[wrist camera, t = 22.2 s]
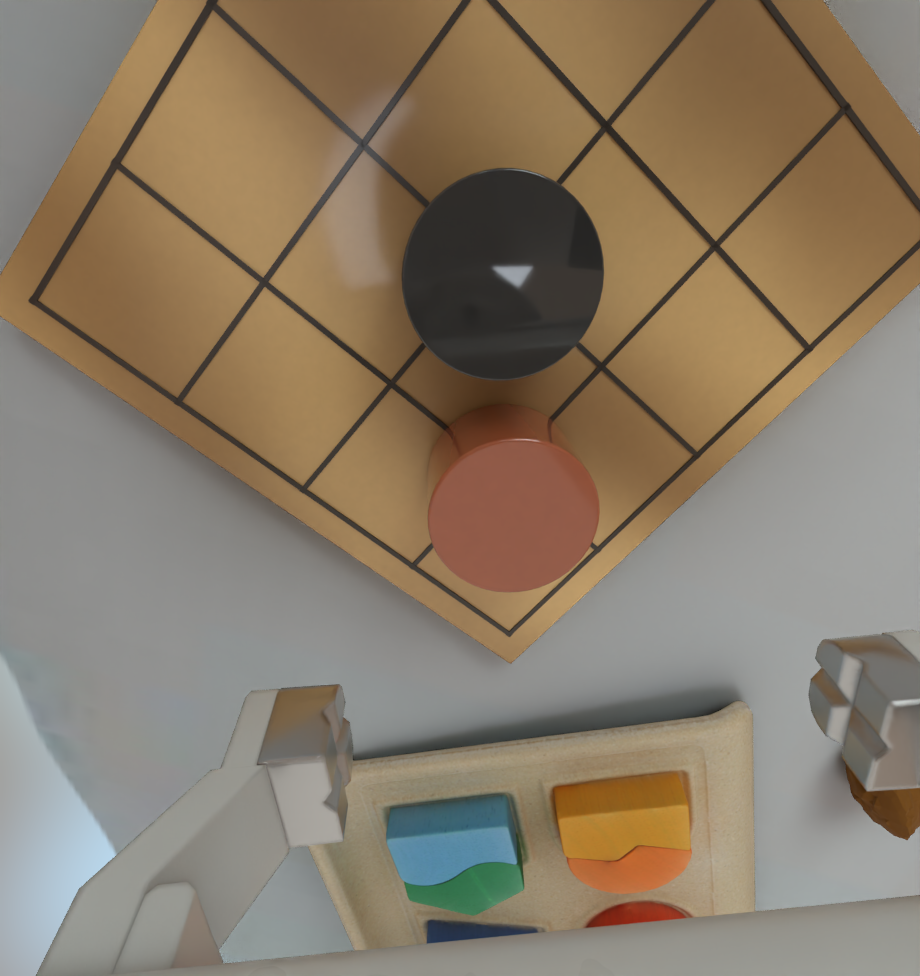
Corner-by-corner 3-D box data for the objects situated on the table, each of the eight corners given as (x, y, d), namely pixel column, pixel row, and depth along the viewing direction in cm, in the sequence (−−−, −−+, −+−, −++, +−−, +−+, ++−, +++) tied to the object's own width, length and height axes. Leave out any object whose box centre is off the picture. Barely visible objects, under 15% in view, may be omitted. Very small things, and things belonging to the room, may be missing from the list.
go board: (450, -460, 13) (453, -523, 12) (952, 222, 19) (986, 224, 18) (7, 298, 19) (-20, 305, 18) (506, 644, 25) (510, 665, 24)
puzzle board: (296, 765, 27) (279, 840, 24) (745, 678, 26) (788, 744, 23) (395, 1000, 34) (393, 1081, 31) (749, 936, 33) (783, 1013, 30)
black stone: (483, 130, 17) (496, 115, 14) (610, 258, 18) (646, 269, 15) (369, 278, 18) (359, 293, 15) (496, 386, 19) (509, 419, 16)
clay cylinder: (419, 409, 20) (419, 446, 17) (575, 396, 20) (602, 430, 17) (433, 546, 22) (435, 600, 19) (575, 534, 22) (599, 586, 19)
